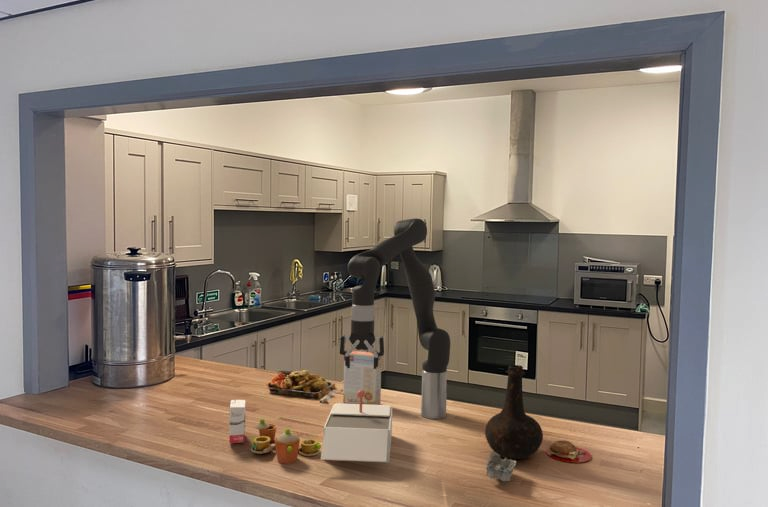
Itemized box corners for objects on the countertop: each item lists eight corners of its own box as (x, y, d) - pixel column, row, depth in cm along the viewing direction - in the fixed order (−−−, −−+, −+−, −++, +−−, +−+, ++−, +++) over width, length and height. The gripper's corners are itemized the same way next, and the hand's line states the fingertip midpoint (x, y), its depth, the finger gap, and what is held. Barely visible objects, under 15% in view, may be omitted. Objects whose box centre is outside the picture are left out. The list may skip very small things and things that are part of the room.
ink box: (244, 442, 181) (245, 406, 180) (229, 443, 180) (229, 407, 179) (245, 433, 189) (245, 398, 189) (230, 434, 188) (230, 399, 188)
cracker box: (380, 404, 223) (382, 353, 222) (375, 409, 217) (376, 356, 216) (349, 400, 228) (350, 349, 227) (342, 404, 222) (343, 352, 221)
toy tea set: (327, 452, 175) (327, 422, 175) (292, 469, 162) (293, 437, 162) (268, 433, 190) (269, 405, 189) (232, 448, 177) (233, 418, 177)
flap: (390, 406, 189) (391, 383, 189) (389, 416, 179) (389, 392, 178) (335, 404, 190) (335, 382, 190) (331, 414, 180) (331, 390, 179)
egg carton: (491, 463, 167) (492, 450, 167) (516, 470, 164) (518, 456, 164) (482, 476, 157) (484, 462, 157) (509, 484, 154) (511, 469, 154)
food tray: (248, 395, 233) (249, 370, 232) (279, 380, 257) (280, 357, 257) (324, 406, 221) (325, 379, 221) (349, 389, 245) (350, 365, 245)
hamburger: (586, 467, 169) (587, 448, 168) (540, 457, 176) (540, 438, 175) (595, 452, 181) (596, 433, 180) (551, 442, 188) (552, 425, 187)
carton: (391, 435, 190) (392, 406, 189) (388, 475, 159) (388, 440, 159) (333, 433, 191) (333, 404, 190) (318, 472, 160) (318, 438, 160)
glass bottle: (509, 469, 165) (512, 376, 163) (473, 448, 180) (475, 362, 179) (554, 459, 173) (557, 370, 172) (515, 439, 189) (518, 357, 187)
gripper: (385, 317, 183) (384, 366, 184) (342, 315, 184) (341, 364, 185) (384, 321, 176) (382, 371, 177) (339, 319, 177) (338, 370, 177)
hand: (361, 368), depth 181 cm, fingers open, 8 cm apart
